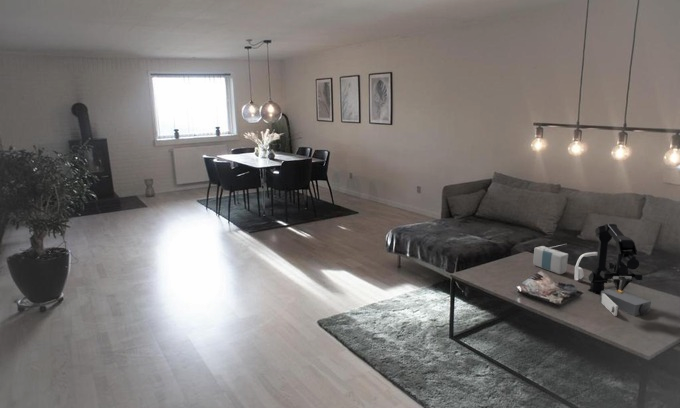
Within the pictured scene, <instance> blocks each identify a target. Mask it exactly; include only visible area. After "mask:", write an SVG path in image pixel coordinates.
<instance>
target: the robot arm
mask: <svg viewBox="0 0 680 408" xmlns="http://www.w3.org/2000/svg"><path fill="white" fill-rule="evenodd" d="M594 232H595V237H596V239H597V242H598V244H597V251H596V252H597V256H596V263H595V264H596V265H595V266H594V267H593V268H592V270H591V273H590V274H589V275H588V280H589V282H590V288H589V289H588V291H589V292H592V293H593V294H597V295H599V294H600V295H601V291H604V290H605V284H607V283H608V282H609V280H612V281H613V282H614V288H616V290H617V291H618V289H621V291H623V290H624V289H625V288H627V286H628V285H629V283H631V282H633V279H632V278H634V279H635V280H636V281H643V279H644V276H643V274H642V273H640V271H634V270H636V269H637V268H639V267H640V261H639V259H637V258H636V257H637V256H636V255H638V253H637V252H638V250H637V247H636V244H635V242H634V240H633V239H631V238H630V237H629V236H625V235H624V234H623V232H622V231H621V230H620V228H618V226H617V224H615V223H605V224H604V225H600V226H597V227H596V228H595V231H594ZM612 239H613V240H614V241H615V247H616V252H617V255H616V256H617V257H616V261H615V263H614V264H613V262H607V257H608V246H609V242H610V241H611V240H612ZM608 269H609V270H608ZM629 270H633V271H629ZM611 271H612V272H611ZM620 278H621V279H620ZM620 285H621V286H620Z"/></svg>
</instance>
